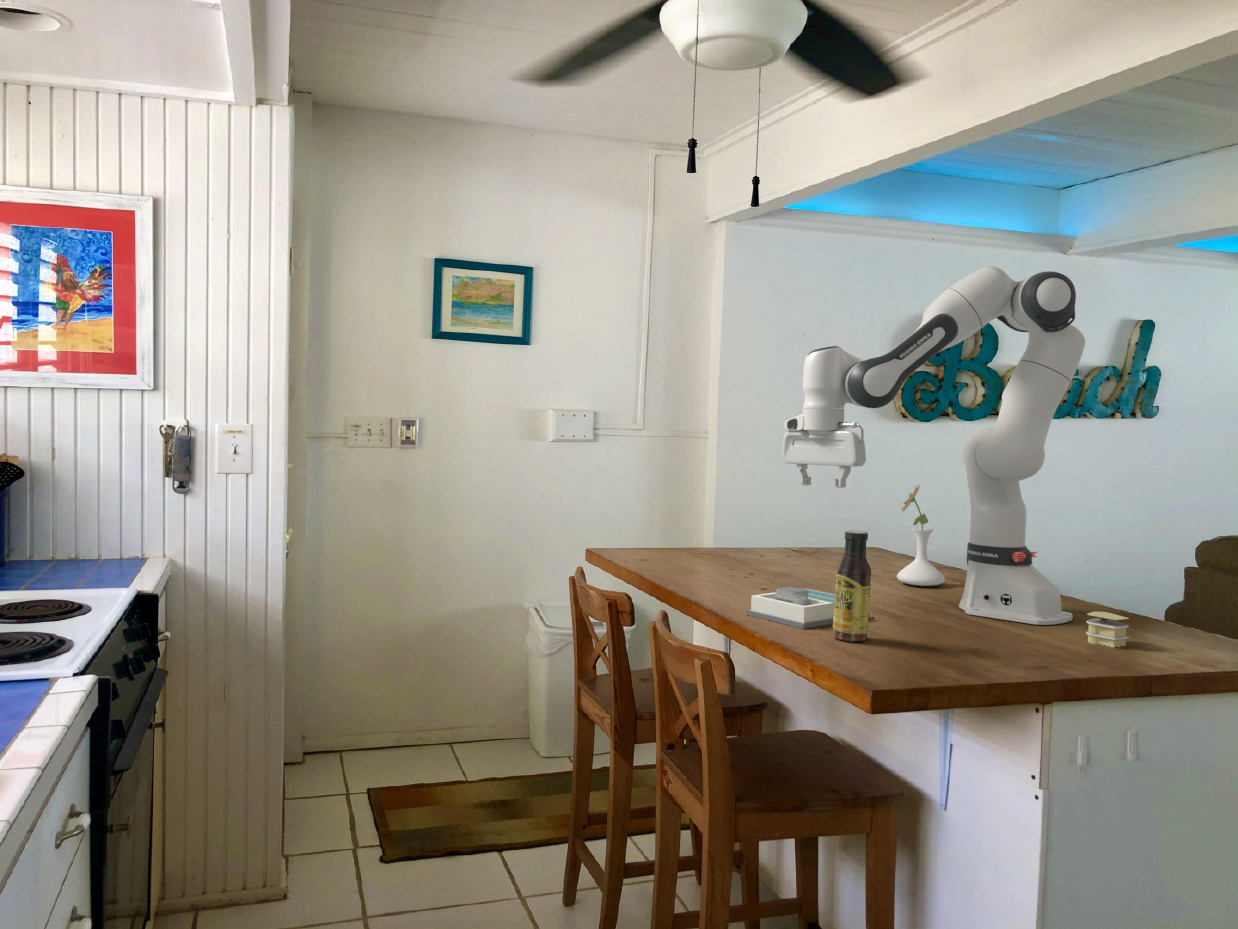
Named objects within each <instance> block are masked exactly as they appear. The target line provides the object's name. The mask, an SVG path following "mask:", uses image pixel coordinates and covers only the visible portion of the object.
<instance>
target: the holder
mask: <svg viewBox="0 0 1238 929" xmlns="http://www.w3.org/2000/svg"><path fill="white" fill-rule="evenodd" d="M804 589H806V590H809V595H808V605H807V606H802V605H797V604H793V603H788V602H784V601H779V600H776V591H775V592H770V593H769V592H768V593H761V594H754V595H751V599H750V600H751V601H750V609H747V610H746V616H748V615H749V617H751V618H757V619H761V620H764V619H766V620H765V621H768V620H770V621H769V622H772V621H773V622H774V623H777V624H781V625H786V626H789V627H793V628H796V629H802V630H806V629H811V628H817V627H822V626H823V627H824V626H828V625H833V617H834V602H835V593H830V592H825V591H820V590H815V589H811V588H810V589H809V588H804ZM870 614H871V613H870V612H869V616H870ZM773 622H772V623H773Z"/></svg>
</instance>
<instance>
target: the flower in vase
mask: <svg viewBox="0 0 1238 929" xmlns="http://www.w3.org/2000/svg"><path fill="white" fill-rule="evenodd" d="M920 487H921V486H920V483H918V484H916V485H914V487H913V488H912V489H913V490H912V491H910V492H909V493H908V498H907V499H906V500H904V501H903V503H902V506H901V507H900V510H899V511H901V513H902V512H904V511H906V510H907V508H909V507H910V505H911V504H912V503H914V504H915V505H916V508H917V510H918V513H919V516H917V517H916V518H915V519H914V521H913V523H912V525H913V526H916V525H917V524H918V523H920V526H921V527H913V528H911V530H912V532H913V533H914V535H915V536H914V537H915V539H916V555H915V559H914V560H913V561H911V562H910V563H909V564H908V565H906V566H904V568H902V569H901V570H899V572H898V573H897V575H896V578H897V580H898V581H899V582H901V583H904V584H907V585H911V586H918V587H932V586H939V585H941V584H943V583H944V582H945V581H946V578H945V575H944V574H943V573H941V572H940V571H939V570H938V569H937V567H935V566H934V565H933V564H932V563H931V562H930V561H929V559H928V554H927V552H928V551H927V550H928V549H927V548H928V542H929V537H930V535H931V534H932V533H933V532H934V529H932V528H925V527H924V525H925V524H928V523H929V519H928V518H927V516H926V514H925V513H923V514H922V512H921V509H920V507H919V505H918V502H917V501H916V498H915V497H916V496H917V494H918V492H919V490H920Z"/></svg>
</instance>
